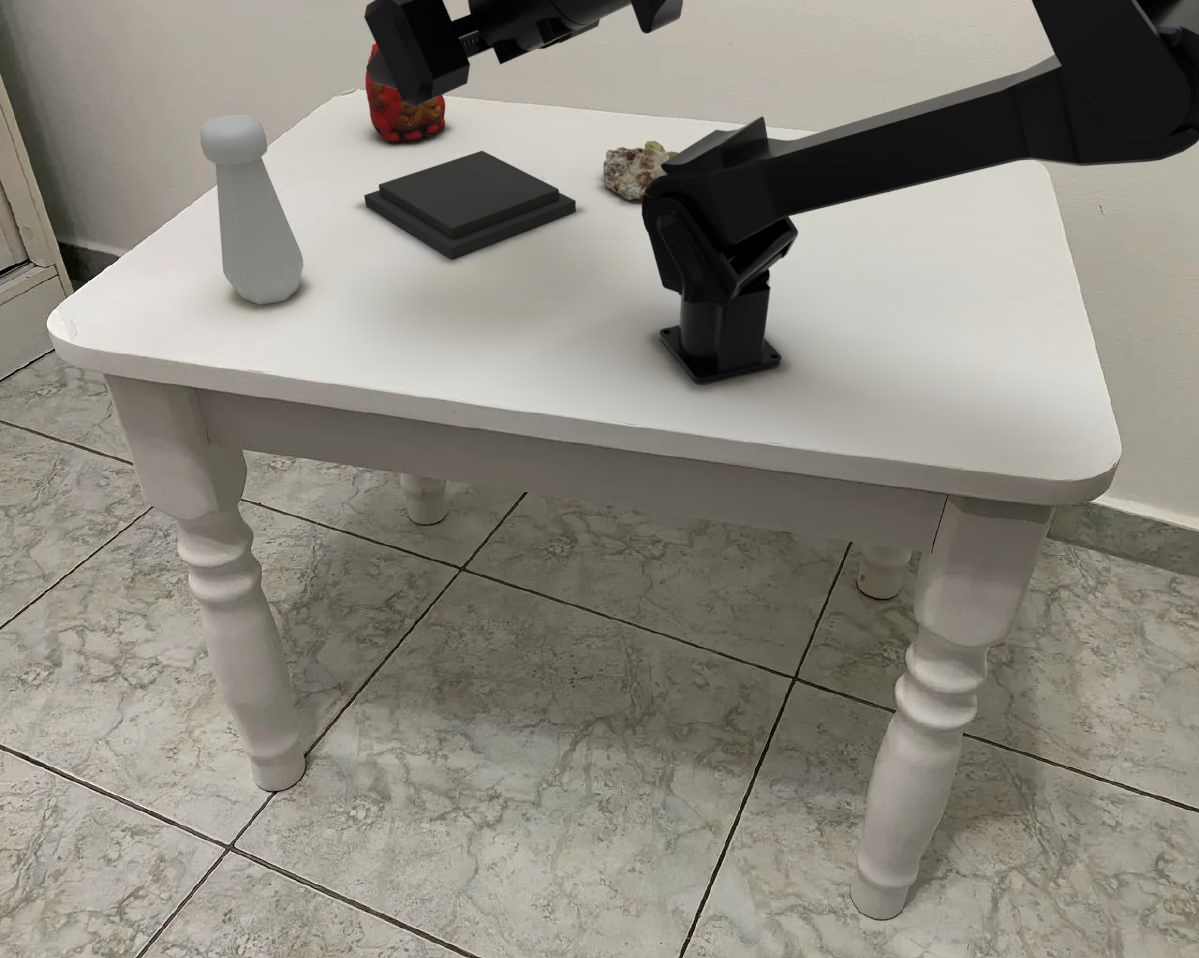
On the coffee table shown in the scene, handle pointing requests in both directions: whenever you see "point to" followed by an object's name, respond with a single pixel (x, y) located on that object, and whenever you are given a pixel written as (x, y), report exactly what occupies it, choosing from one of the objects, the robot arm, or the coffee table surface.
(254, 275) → the salt shaker
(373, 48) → the red clay folk toy
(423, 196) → the pad stack
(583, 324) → the coffee table surface
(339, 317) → the coffee table surface
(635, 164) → the mineral rock
